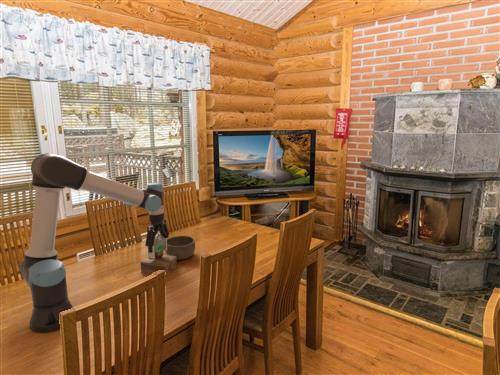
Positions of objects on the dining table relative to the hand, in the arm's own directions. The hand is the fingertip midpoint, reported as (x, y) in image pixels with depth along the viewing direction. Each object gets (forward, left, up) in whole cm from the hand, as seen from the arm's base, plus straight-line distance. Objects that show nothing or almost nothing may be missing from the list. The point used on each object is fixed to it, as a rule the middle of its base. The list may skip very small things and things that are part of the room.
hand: (158, 253), depth 175 cm
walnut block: (0, 0, -9) cm, 9 cm away
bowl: (+19, -2, -9) cm, 21 cm away
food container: (0, 0, -2) cm, 2 cm away
